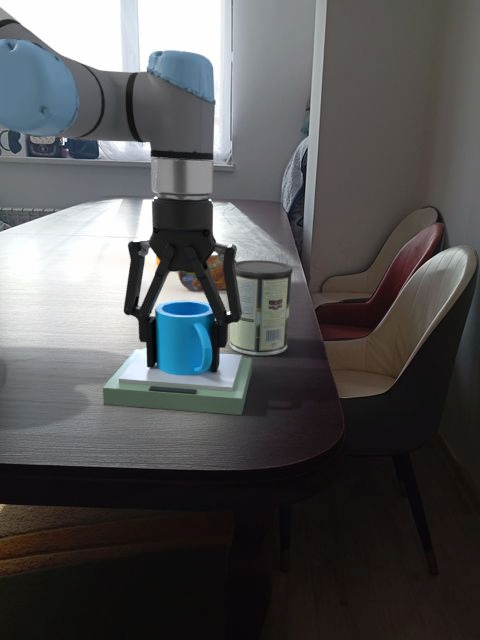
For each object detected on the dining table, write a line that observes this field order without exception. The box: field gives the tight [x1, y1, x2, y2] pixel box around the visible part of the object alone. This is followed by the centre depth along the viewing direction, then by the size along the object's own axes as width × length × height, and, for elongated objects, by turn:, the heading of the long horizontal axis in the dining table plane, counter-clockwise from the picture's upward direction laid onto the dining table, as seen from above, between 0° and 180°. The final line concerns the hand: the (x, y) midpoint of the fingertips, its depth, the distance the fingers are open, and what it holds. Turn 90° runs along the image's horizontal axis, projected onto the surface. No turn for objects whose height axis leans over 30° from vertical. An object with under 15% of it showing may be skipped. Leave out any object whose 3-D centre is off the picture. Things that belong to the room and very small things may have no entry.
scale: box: [102, 347, 253, 416], centre depth 72 cm, size 18×14×3 cm
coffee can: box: [228, 259, 294, 357], centre depth 87 cm, size 10×10×14 cm
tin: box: [177, 254, 238, 292], centre depth 124 cm, size 15×3×8 cm, turn 112°
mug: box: [154, 299, 216, 375], centre depth 70 cm, size 12×8×8 cm
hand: (183, 365), depth 71 cm, fingers closed on mug, 8 cm apart
